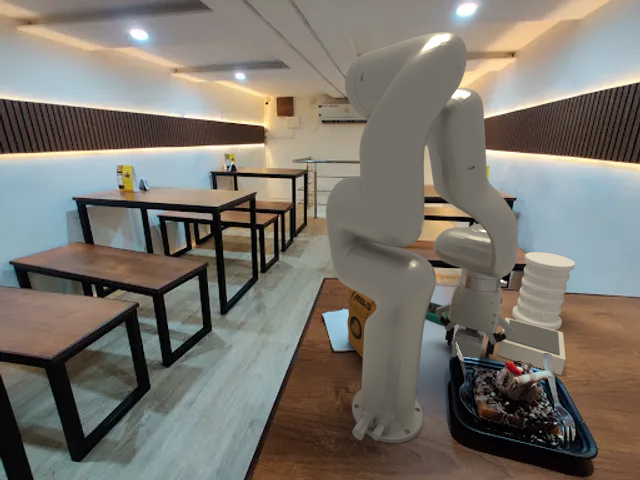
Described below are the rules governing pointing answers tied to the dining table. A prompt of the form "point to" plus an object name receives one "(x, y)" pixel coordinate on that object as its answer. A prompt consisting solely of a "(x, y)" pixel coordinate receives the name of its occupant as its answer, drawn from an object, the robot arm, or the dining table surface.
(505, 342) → the stand
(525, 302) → the decorative container
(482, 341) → the housing
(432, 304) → the digital multimeter
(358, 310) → the coffee package
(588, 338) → the dining table surface
